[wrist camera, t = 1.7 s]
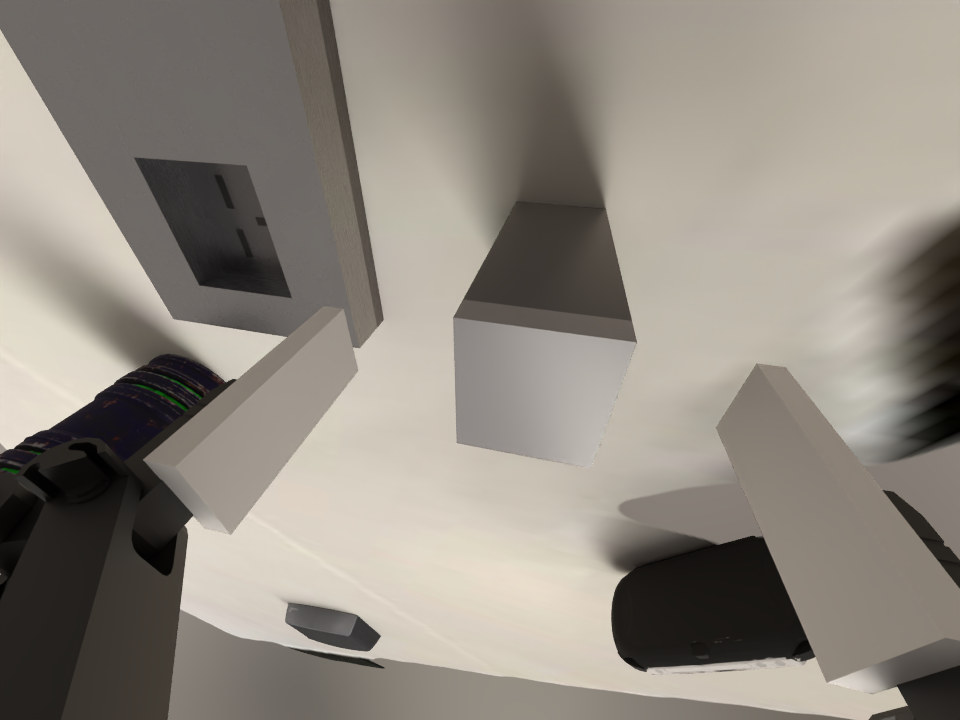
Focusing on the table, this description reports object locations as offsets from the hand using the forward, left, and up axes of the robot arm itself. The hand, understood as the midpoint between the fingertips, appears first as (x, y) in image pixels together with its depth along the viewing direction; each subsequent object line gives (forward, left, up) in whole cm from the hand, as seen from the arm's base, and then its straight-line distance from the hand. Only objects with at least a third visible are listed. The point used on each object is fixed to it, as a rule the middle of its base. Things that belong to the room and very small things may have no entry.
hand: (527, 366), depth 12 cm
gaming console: (-17, +28, -10) cm, 34 cm away
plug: (0, 0, -10) cm, 10 cm away
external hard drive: (+36, +89, -11) cm, 97 cm away
